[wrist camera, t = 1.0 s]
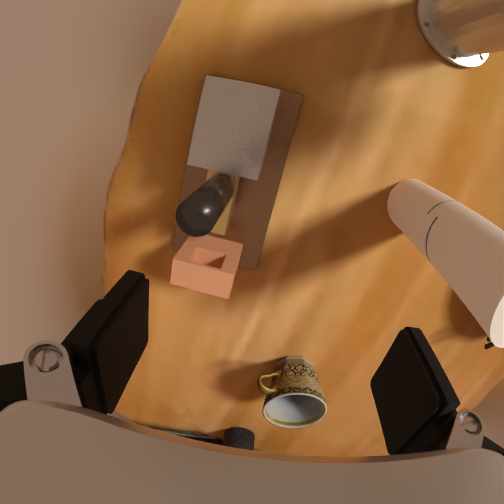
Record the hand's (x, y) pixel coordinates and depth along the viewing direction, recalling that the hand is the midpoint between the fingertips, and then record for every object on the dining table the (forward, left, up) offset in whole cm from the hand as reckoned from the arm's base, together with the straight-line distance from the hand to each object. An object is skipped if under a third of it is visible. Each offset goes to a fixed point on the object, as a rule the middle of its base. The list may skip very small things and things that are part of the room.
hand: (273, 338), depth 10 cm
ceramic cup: (+30, +10, -30) cm, 44 cm away
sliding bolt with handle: (-2, -6, -24) cm, 25 cm away
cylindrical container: (-2, +18, -30) cm, 35 cm away
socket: (+11, -6, -29) cm, 31 cm away
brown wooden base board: (+1, -6, -30) cm, 30 cm away
